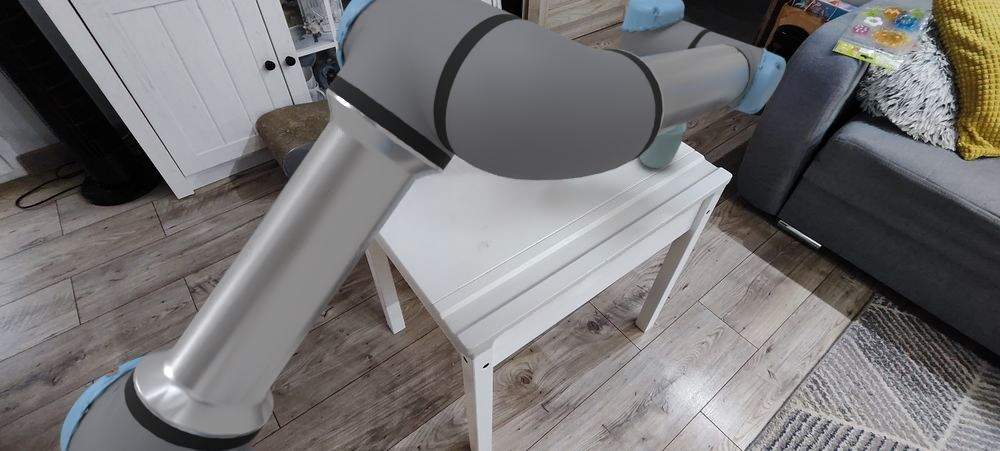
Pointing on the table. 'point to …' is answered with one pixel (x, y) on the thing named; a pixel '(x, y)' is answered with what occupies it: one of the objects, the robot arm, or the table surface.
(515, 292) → the table surface
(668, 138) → the cup
